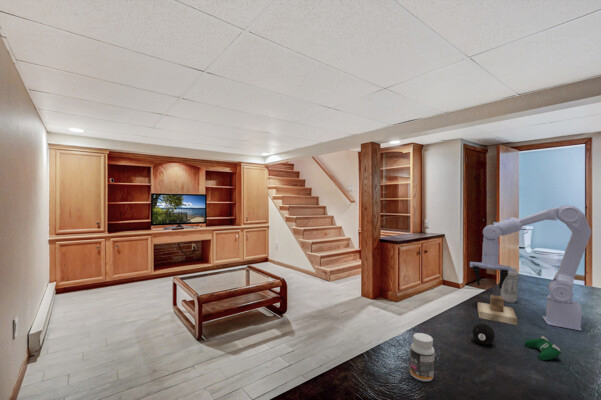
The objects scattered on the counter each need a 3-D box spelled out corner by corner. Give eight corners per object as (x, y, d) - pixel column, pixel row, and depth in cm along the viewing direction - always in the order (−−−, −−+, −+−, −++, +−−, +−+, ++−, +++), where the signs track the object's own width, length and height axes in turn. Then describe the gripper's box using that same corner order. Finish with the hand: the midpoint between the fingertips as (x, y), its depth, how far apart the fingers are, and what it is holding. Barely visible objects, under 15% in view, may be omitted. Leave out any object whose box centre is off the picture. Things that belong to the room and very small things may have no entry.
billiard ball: (470, 343, 94) (471, 324, 94) (473, 336, 98) (474, 318, 98) (492, 350, 90) (493, 330, 90) (495, 342, 95) (496, 324, 94)
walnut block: (501, 309, 117) (502, 296, 117) (503, 312, 114) (503, 299, 114) (489, 307, 119) (490, 294, 119) (490, 310, 116) (491, 297, 116)
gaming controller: (548, 368, 84) (567, 355, 83) (538, 357, 85) (556, 345, 84) (530, 351, 93) (547, 340, 92) (521, 342, 94) (537, 330, 93)
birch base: (512, 315, 119) (512, 307, 119) (516, 326, 109) (517, 318, 109) (477, 308, 125) (477, 301, 125) (478, 319, 114) (479, 311, 114)
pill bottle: (405, 369, 78) (407, 331, 78) (426, 368, 79) (427, 331, 79) (415, 382, 73) (417, 342, 73) (438, 382, 73) (439, 342, 73)
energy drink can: (515, 300, 136) (517, 267, 135) (517, 304, 131) (518, 270, 130) (500, 297, 139) (501, 265, 139) (500, 301, 134) (502, 268, 133)
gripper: (470, 253, 123) (469, 285, 124) (513, 257, 117) (511, 292, 117) (470, 250, 130) (468, 281, 130) (510, 254, 123) (509, 287, 123)
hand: (489, 286), depth 124 cm, fingers open, 7 cm apart
